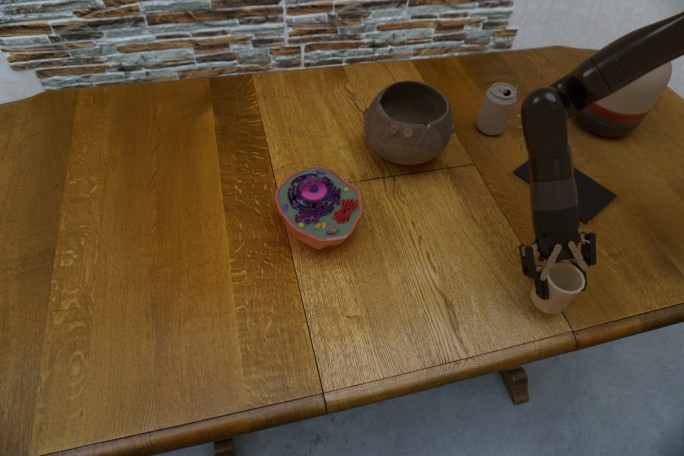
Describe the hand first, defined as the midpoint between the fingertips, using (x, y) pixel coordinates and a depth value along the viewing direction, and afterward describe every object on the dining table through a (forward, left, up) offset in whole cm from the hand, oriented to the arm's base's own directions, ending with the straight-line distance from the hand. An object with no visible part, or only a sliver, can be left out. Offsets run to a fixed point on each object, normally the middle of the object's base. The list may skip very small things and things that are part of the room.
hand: (562, 294), depth 83 cm
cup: (+1, -1, -4) cm, 5 cm away
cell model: (+44, +21, -7) cm, 49 cm away
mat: (+18, -32, -7) cm, 37 cm away
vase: (+25, -60, -7) cm, 65 cm away
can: (+41, -34, -7) cm, 54 cm away
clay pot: (+50, -10, -7) cm, 51 cm away
